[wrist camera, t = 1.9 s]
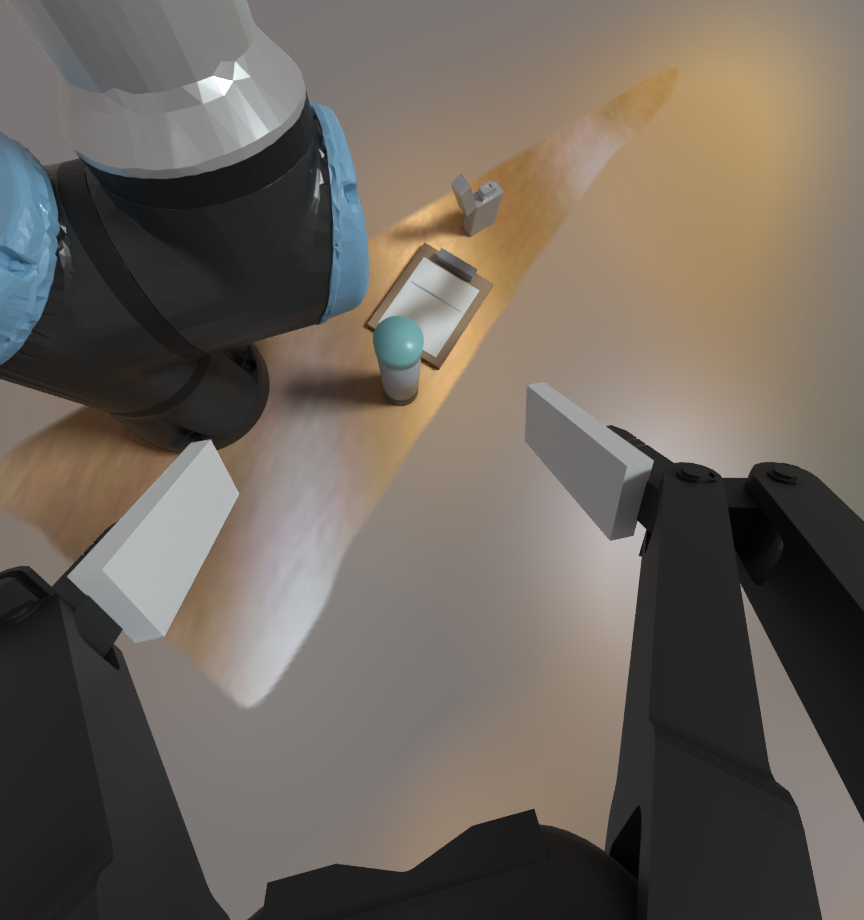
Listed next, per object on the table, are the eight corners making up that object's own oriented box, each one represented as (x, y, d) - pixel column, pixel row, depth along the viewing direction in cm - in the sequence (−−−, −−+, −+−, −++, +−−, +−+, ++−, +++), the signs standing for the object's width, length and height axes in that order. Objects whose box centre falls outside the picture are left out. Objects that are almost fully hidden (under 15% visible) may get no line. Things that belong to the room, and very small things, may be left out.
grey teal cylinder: (376, 394, 40) (363, 346, 28) (395, 365, 40) (390, 306, 29) (406, 413, 40) (406, 372, 28) (425, 384, 40) (433, 332, 29)
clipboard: (367, 326, 41) (366, 319, 39) (424, 246, 43) (424, 236, 41) (438, 369, 41) (440, 364, 39) (492, 287, 43) (495, 278, 41)
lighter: (487, 212, 44) (504, 148, 36) (495, 222, 44) (514, 160, 36) (443, 238, 43) (451, 178, 35) (451, 248, 43) (461, 190, 35)
